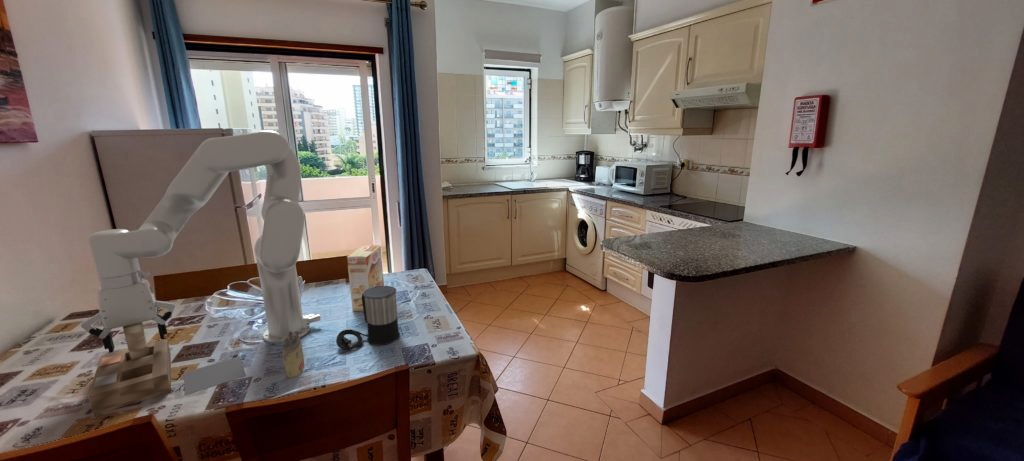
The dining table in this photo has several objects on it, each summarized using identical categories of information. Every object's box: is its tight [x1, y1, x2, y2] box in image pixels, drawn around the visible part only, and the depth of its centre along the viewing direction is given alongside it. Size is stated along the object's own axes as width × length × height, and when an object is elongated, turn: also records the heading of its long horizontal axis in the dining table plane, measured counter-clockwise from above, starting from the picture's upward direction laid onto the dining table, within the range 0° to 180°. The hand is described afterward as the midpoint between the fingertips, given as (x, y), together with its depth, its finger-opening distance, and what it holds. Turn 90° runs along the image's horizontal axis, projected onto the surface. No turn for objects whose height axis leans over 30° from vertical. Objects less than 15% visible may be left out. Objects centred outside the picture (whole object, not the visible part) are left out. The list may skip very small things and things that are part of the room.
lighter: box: [281, 331, 305, 378], centre depth 103 cm, size 7×4×10 cm, turn 14°
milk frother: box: [335, 285, 401, 351], centre depth 117 cm, size 14×16×15 cm
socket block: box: [87, 338, 172, 418], centre depth 100 cm, size 13×22×5 cm, turn 39°
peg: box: [122, 322, 150, 360], centre depth 103 cm, size 4×4×12 cm
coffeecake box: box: [346, 244, 385, 312], centre depth 144 cm, size 15×7×20 cm, turn 179°
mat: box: [183, 356, 247, 396], centre depth 103 cm, size 12×12×1 cm
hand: (138, 343), depth 103 cm, fingers open, 9 cm apart
